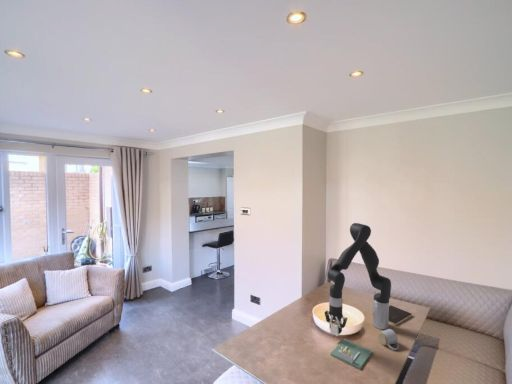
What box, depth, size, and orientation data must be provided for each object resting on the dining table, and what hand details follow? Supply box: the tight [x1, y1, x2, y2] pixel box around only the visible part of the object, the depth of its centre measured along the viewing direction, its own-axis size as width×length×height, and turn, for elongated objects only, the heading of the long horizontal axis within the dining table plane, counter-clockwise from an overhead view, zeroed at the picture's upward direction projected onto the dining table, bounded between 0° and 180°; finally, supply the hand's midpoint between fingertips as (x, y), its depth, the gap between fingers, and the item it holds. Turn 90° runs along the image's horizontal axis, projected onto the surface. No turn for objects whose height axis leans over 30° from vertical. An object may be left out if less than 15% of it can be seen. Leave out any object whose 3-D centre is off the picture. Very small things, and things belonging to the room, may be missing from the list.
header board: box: [330, 338, 373, 370], centre depth 141 cm, size 18×16×6 cm
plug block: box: [329, 320, 340, 337], centre depth 153 cm, size 5×4×6 cm
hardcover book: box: [388, 304, 413, 326], centre depth 183 cm, size 16×23×2 cm
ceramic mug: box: [377, 328, 400, 351], centre depth 149 cm, size 11×8×8 cm
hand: (335, 331), depth 153 cm, fingers closed on plug block, 4 cm apart
